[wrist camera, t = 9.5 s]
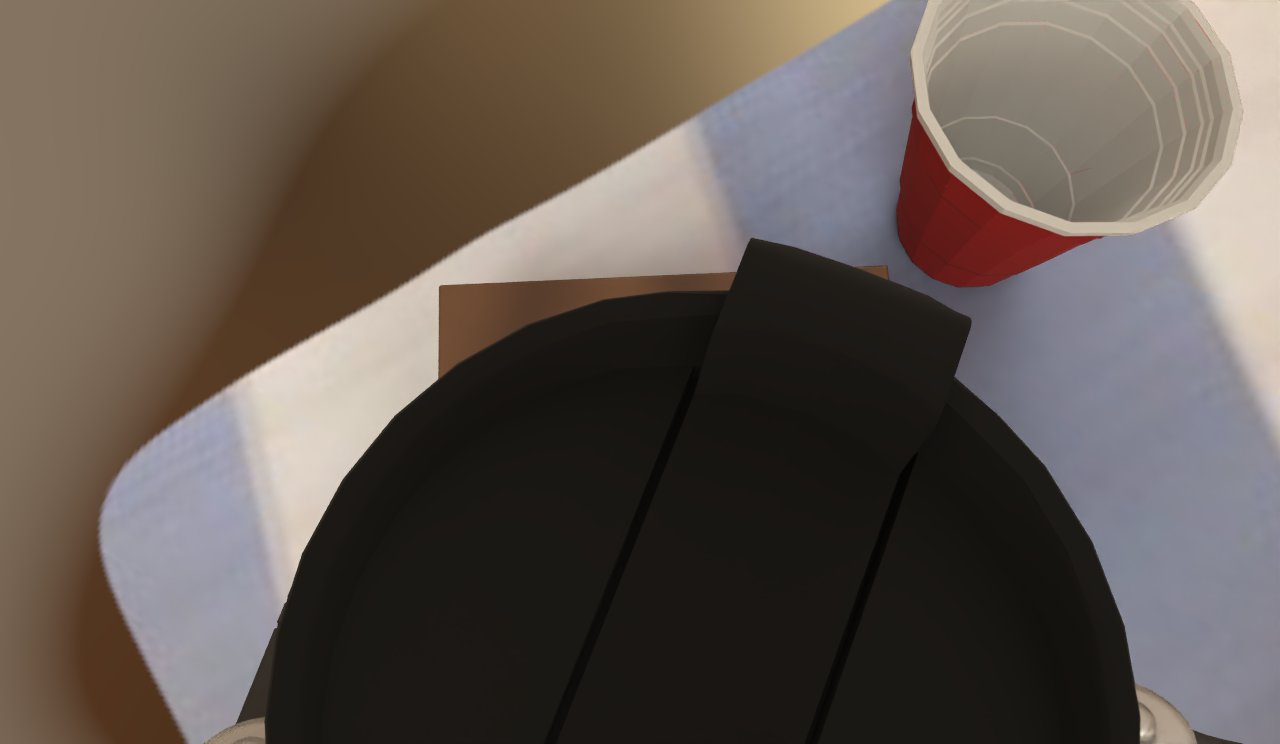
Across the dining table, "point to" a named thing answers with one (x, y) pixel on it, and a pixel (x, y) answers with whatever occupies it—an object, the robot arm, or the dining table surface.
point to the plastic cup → (1057, 128)
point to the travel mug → (706, 541)
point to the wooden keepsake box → (545, 305)
